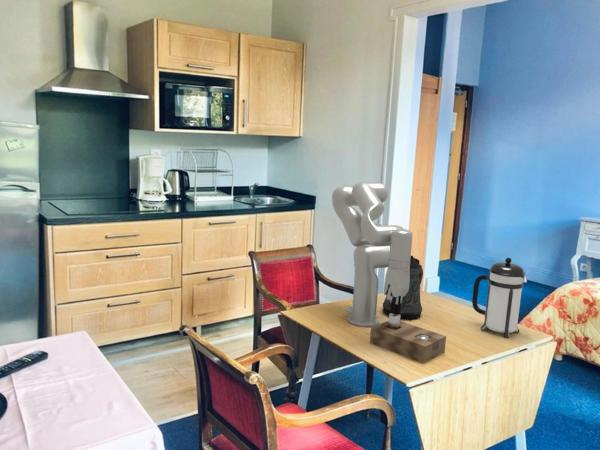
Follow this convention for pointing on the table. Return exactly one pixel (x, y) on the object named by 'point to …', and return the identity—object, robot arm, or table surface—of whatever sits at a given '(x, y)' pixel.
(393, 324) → the peg
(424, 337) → the peg
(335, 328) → the table surface
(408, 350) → the walnut block
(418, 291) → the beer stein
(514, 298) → the coffee press
